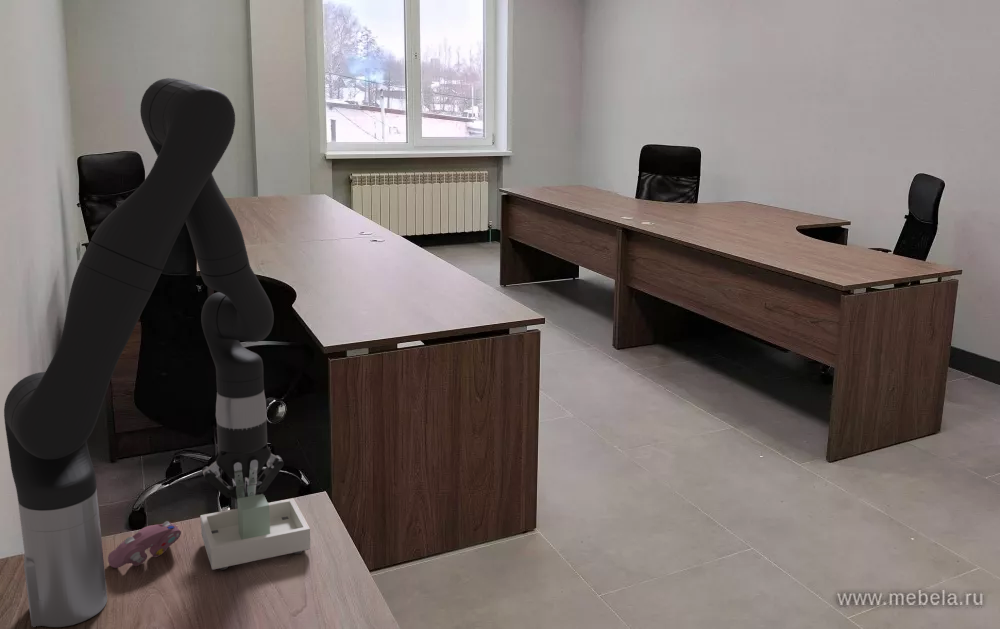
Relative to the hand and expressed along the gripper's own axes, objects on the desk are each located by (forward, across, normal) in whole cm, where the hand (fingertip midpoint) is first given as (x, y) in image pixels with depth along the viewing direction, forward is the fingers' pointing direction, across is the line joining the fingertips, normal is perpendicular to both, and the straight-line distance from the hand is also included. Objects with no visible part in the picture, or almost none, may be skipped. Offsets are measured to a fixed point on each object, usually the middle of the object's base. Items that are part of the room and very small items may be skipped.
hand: (245, 516), depth 135 cm
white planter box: (+2, 0, -6) cm, 7 cm away
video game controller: (+3, -15, -3) cm, 16 cm away
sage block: (0, 0, -6) cm, 6 cm away
